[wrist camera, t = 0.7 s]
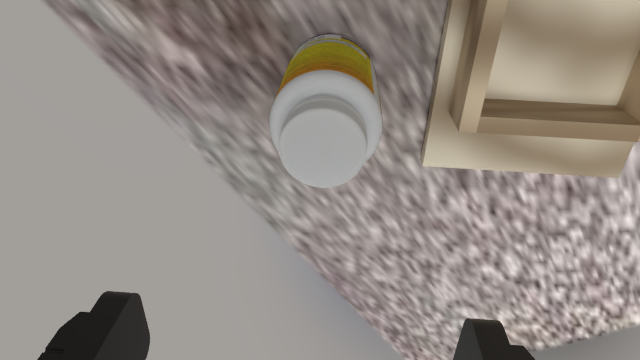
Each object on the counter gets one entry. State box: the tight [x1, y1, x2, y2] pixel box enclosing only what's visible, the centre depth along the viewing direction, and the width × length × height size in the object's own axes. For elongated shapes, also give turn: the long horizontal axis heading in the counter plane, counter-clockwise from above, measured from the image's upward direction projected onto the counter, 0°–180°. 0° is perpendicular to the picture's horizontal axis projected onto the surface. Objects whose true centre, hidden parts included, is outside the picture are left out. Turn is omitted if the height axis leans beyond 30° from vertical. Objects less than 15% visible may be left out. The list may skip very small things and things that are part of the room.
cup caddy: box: [421, 0, 640, 178], centre depth 24 cm, size 19×13×4 cm
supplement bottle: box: [269, 34, 382, 188], centre depth 24 cm, size 6×6×10 cm
